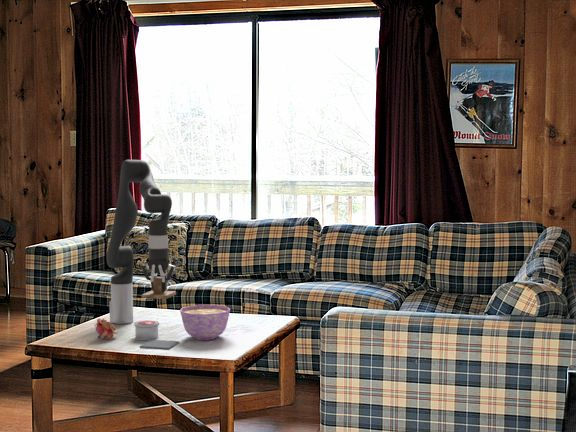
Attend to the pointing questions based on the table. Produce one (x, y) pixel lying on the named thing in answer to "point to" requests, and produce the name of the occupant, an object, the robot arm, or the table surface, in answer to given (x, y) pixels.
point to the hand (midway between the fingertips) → (159, 291)
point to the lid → (158, 290)
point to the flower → (105, 329)
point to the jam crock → (146, 330)
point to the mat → (159, 344)
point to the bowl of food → (205, 320)
